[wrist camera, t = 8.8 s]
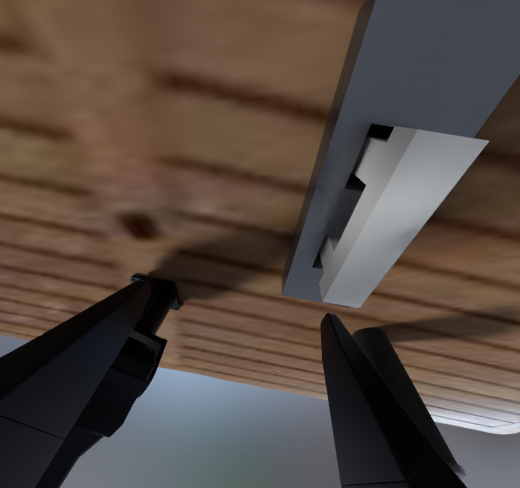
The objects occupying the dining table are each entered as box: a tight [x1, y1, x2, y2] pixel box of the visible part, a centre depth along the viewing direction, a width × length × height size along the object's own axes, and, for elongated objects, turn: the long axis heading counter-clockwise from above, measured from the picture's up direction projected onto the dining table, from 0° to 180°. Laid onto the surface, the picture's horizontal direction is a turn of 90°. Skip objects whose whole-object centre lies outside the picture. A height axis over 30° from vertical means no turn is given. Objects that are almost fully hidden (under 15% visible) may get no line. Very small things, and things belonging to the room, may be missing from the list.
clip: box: [319, 126, 489, 308], centre depth 14 cm, size 12×3×7 cm, turn 173°
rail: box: [282, 0, 520, 307], centre depth 16 cm, size 22×8×3 cm, turn 173°
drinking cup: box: [353, 328, 466, 478], centre depth 21 cm, size 8×8×20 cm
